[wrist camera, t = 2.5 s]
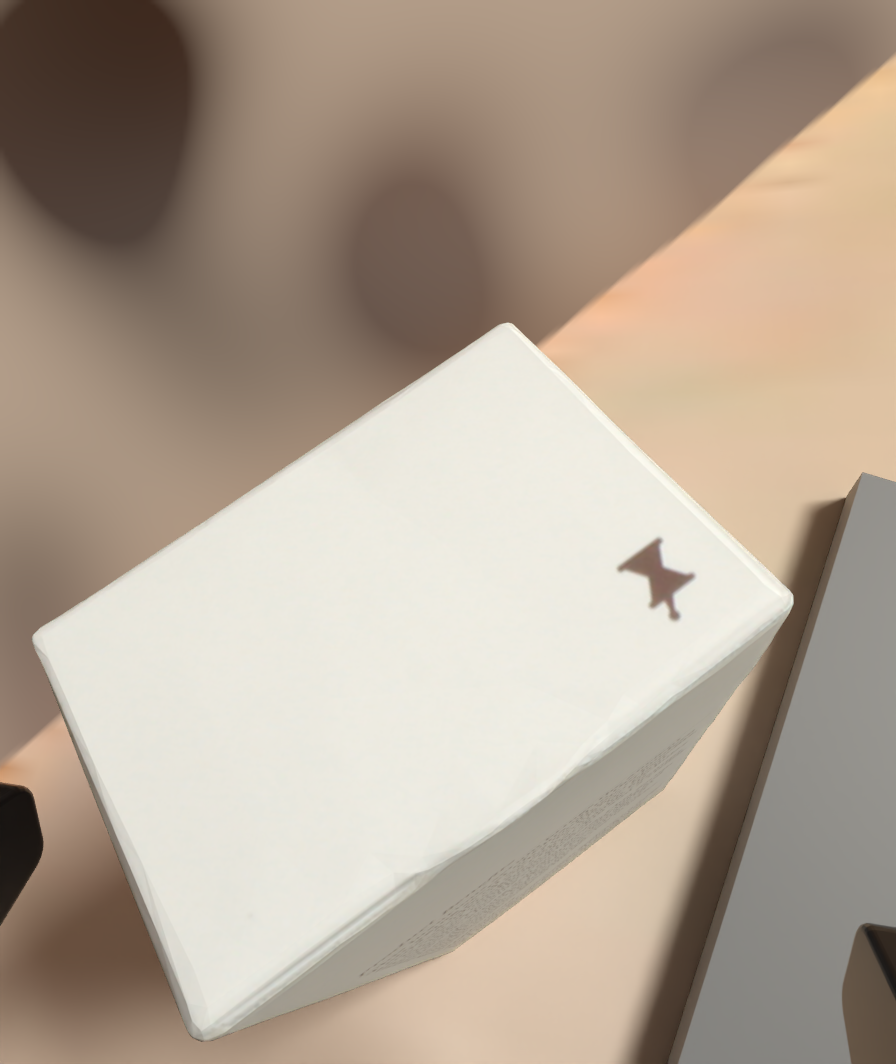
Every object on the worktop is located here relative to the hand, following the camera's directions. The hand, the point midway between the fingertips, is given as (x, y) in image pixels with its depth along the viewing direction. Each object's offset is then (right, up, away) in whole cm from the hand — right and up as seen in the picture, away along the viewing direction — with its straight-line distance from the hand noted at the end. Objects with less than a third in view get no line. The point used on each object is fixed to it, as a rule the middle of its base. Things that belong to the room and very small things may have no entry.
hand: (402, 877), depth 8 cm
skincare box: (+2, -2, +9) cm, 10 cm away
